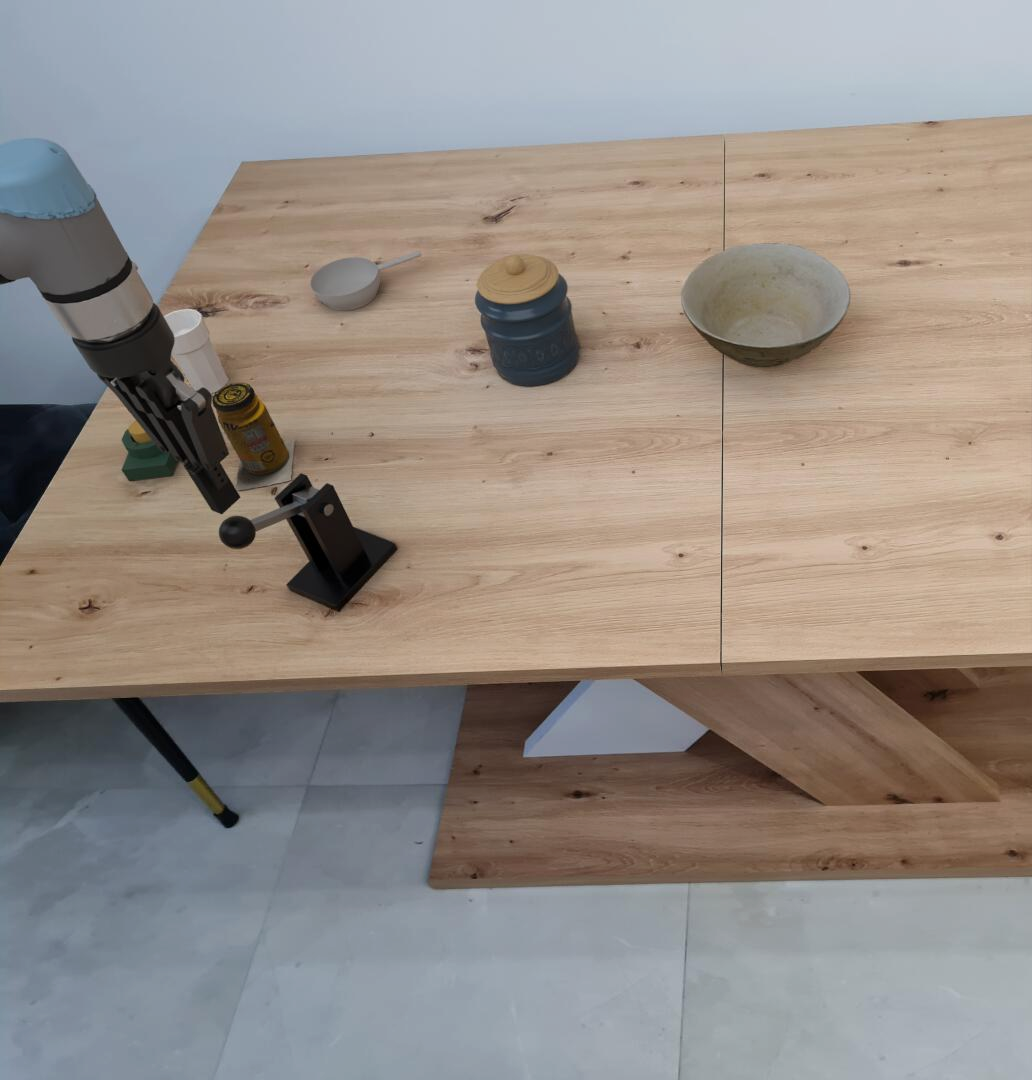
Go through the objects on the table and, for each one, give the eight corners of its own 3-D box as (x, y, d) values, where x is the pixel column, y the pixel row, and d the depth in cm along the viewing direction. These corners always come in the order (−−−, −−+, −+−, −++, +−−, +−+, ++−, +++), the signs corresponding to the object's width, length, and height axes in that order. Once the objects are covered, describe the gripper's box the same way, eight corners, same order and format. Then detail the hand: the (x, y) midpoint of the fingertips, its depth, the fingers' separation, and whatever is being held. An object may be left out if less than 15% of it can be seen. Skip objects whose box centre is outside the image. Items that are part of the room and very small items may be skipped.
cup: (179, 388, 156) (143, 328, 148) (215, 364, 159) (182, 304, 151) (206, 403, 153) (172, 342, 145) (242, 378, 157) (211, 317, 149)
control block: (174, 475, 143) (161, 454, 140) (127, 481, 143) (112, 460, 140) (192, 427, 150) (179, 406, 147) (146, 432, 150) (132, 411, 147)
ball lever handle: (236, 558, 111) (234, 528, 109) (212, 548, 112) (209, 518, 111) (331, 517, 122) (329, 488, 120) (308, 507, 123) (306, 480, 121)
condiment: (294, 440, 146) (260, 372, 138) (291, 481, 141) (255, 414, 132) (241, 450, 146) (204, 383, 137) (236, 492, 140) (196, 425, 131)
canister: (570, 324, 160) (548, 221, 147) (590, 374, 152) (569, 270, 138) (487, 345, 158) (457, 243, 145) (502, 397, 149) (472, 293, 136)
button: (157, 441, 143) (151, 432, 141) (131, 445, 143) (125, 435, 141) (164, 424, 145) (158, 414, 144) (138, 427, 145) (132, 418, 144)
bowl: (881, 359, 149) (885, 301, 142) (737, 421, 143) (732, 363, 135) (794, 280, 164) (793, 223, 156) (659, 333, 157) (651, 276, 150)
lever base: (339, 612, 125) (296, 534, 115) (289, 590, 128) (243, 513, 117) (397, 549, 131) (362, 470, 121) (349, 529, 134) (310, 451, 124)
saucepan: (312, 287, 172) (304, 267, 169) (419, 256, 176) (413, 236, 173) (323, 322, 165) (315, 301, 162) (435, 288, 169) (428, 268, 166)
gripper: (196, 311, 92) (297, 498, 110) (97, 279, 97) (208, 463, 114) (130, 361, 88) (245, 547, 105) (29, 326, 92) (155, 509, 110)
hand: (226, 503), depth 110 cm, fingers closed
